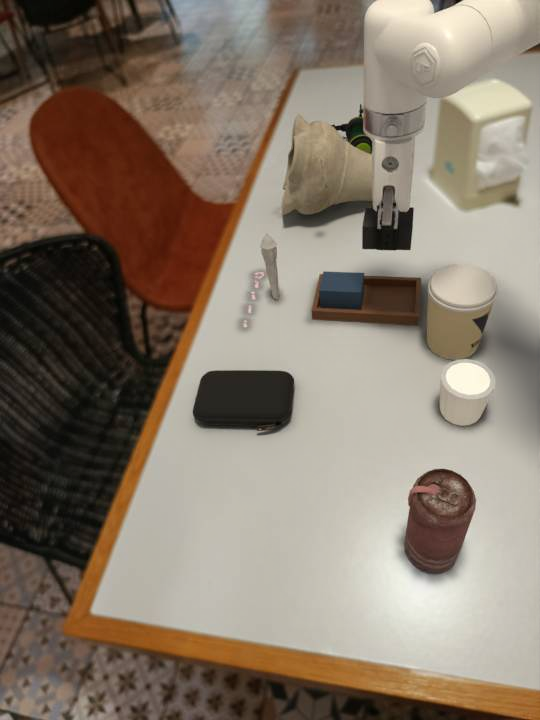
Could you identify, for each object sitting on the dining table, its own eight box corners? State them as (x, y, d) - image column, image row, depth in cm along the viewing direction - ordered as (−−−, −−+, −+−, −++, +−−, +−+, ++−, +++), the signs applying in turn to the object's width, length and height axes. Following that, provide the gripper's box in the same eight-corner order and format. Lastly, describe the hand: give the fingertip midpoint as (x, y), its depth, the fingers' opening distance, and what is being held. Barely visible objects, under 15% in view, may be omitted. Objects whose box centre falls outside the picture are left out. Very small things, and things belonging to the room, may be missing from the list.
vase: (428, 112, 106) (291, 91, 105) (450, 145, 90) (289, 121, 89) (397, 212, 120) (277, 194, 119) (412, 257, 103) (272, 237, 102)
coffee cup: (480, 369, 78) (495, 310, 69) (416, 358, 81) (423, 300, 72) (486, 326, 84) (501, 266, 75) (426, 317, 87) (434, 258, 78)
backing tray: (420, 286, 92) (421, 277, 90) (418, 325, 86) (419, 316, 84) (320, 282, 96) (319, 273, 94) (312, 319, 90) (311, 310, 88)
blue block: (364, 290, 92) (364, 272, 89) (361, 310, 89) (361, 292, 86) (324, 288, 94) (323, 271, 91) (320, 308, 90) (318, 290, 87)
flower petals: (255, 272, 100) (255, 270, 100) (265, 272, 100) (265, 270, 100) (239, 328, 91) (238, 325, 90) (249, 328, 90) (249, 326, 90)
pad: (411, 230, 80) (413, 207, 77) (410, 250, 77) (412, 227, 74) (365, 229, 81) (365, 206, 78) (362, 249, 78) (362, 226, 75)
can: (398, 524, 64) (405, 466, 54) (452, 522, 63) (469, 463, 53) (405, 574, 60) (414, 522, 50) (462, 574, 59) (484, 520, 49)
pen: (273, 292, 96) (262, 227, 85) (286, 295, 95) (277, 230, 84) (267, 301, 94) (255, 236, 84) (280, 304, 93) (270, 239, 83)
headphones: (405, 124, 111) (311, 133, 114) (403, 167, 118) (314, 173, 121) (399, 93, 121) (313, 101, 124) (397, 134, 129) (316, 140, 132)
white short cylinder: (446, 383, 77) (453, 351, 72) (493, 401, 74) (503, 370, 69) (427, 416, 74) (432, 385, 69) (475, 437, 71) (484, 406, 65)
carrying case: (191, 434, 77) (290, 436, 75) (186, 422, 75) (288, 424, 72) (204, 378, 84) (296, 378, 81) (200, 365, 82) (294, 365, 79)
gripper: (423, 149, 59) (411, 274, 72) (426, 85, 70) (415, 205, 83) (356, 150, 61) (356, 273, 74) (369, 88, 71) (367, 205, 85)
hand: (387, 236), depth 78 cm, fingers closed on pad, 5 cm apart
